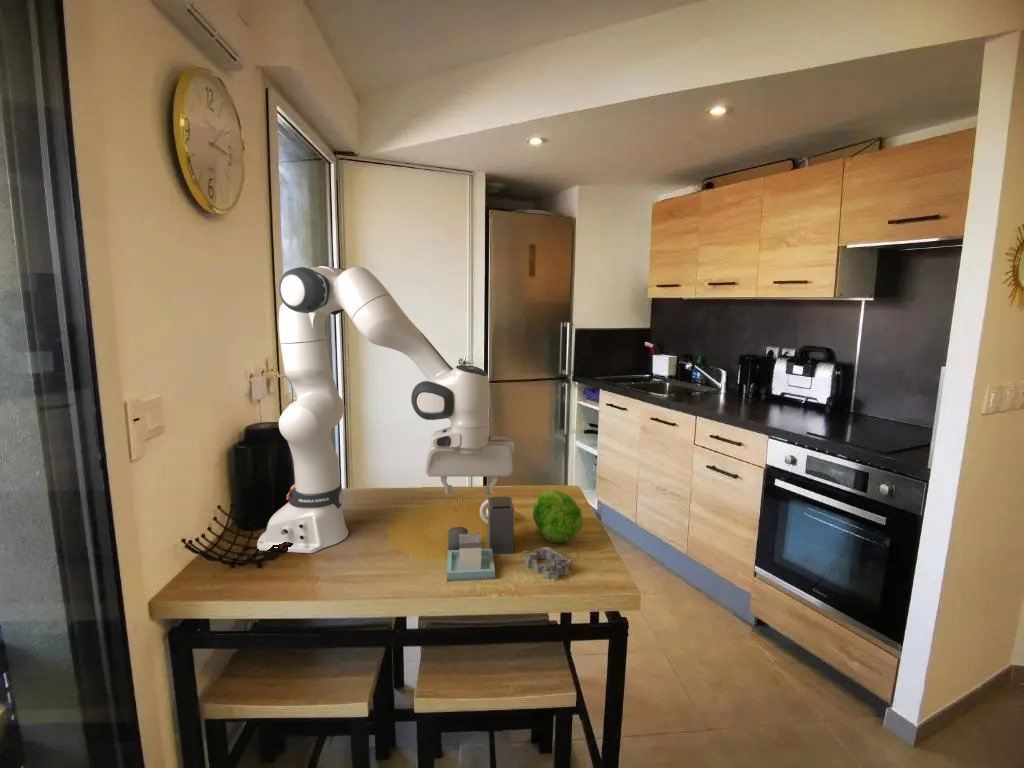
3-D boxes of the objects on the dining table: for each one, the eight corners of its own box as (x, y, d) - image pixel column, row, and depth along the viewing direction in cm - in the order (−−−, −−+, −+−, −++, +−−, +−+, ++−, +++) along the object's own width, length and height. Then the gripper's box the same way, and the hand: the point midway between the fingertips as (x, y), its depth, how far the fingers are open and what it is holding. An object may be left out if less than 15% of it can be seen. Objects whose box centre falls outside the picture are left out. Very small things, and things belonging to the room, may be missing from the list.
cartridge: (459, 571, 122) (459, 543, 121) (459, 561, 127) (458, 533, 126) (481, 570, 122) (481, 542, 121) (480, 560, 127) (480, 533, 126)
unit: (488, 554, 131) (488, 507, 130) (487, 540, 139) (487, 495, 137) (514, 553, 132) (515, 506, 130) (511, 539, 140) (511, 495, 138)
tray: (446, 581, 119) (446, 573, 118) (447, 557, 129) (447, 550, 129) (494, 579, 120) (494, 570, 119) (492, 556, 131) (492, 548, 130)
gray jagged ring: (520, 565, 127) (520, 549, 126) (544, 556, 131) (544, 541, 131) (549, 584, 118) (549, 567, 118) (573, 574, 123) (574, 557, 122)
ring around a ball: (507, 522, 151) (507, 495, 150) (507, 530, 145) (508, 503, 144) (479, 522, 151) (479, 496, 149) (479, 530, 145) (479, 503, 144)
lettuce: (570, 517, 155) (571, 479, 153) (588, 553, 132) (589, 510, 130) (527, 518, 154) (527, 480, 152) (537, 555, 131) (538, 511, 129)
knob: (448, 554, 131) (447, 535, 131) (448, 545, 136) (448, 527, 136) (468, 553, 132) (467, 534, 131) (467, 544, 137) (467, 526, 136)
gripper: (513, 433, 124) (511, 488, 126) (426, 432, 122) (426, 488, 124) (516, 440, 118) (514, 498, 120) (424, 439, 115) (424, 498, 118)
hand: (468, 493), depth 122 cm, fingers open, 8 cm apart
